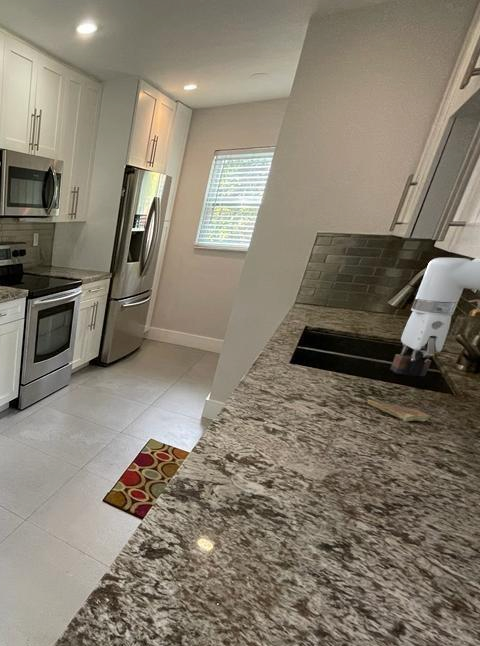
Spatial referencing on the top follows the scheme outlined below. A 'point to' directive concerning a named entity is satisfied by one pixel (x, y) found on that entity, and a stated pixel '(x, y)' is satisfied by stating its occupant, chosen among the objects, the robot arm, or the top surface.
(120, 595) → the top surface
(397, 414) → the shard
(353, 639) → the top surface
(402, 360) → the eraser
